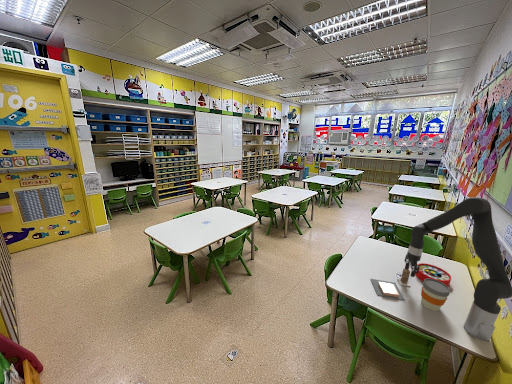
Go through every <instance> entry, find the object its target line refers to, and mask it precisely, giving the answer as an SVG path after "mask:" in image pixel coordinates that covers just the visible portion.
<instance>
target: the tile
mask: <svg viewBox="0 0 512 384" xmlns="http://www.w3.org/2000/svg"><path fill="white" fill-rule="evenodd" d="M378 285H379V287H380V289H381V291H382V293H383V295H388V296H394V297H399V294H398V292H397V290H396V288H395V286H394V285H393V284H389V283H383V282H379V283H378Z"/></svg>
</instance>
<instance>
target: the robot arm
mask: <svg viewBox="0 0 512 384" xmlns="http://www.w3.org/2000/svg"><path fill="white" fill-rule="evenodd" d="M469 215H471V217H472V222H473V229H472V233H471V243H472V246H473V250H474V253H475V254H476V255H477V257H478V258H479V259H480V260H481V262H482V263H483V264H484V266H485V268H486V269H487V272H488V276H489V277H488V278H482V279H480V280H478V281H477V283H476V286H475V289H474V291H473V301H472V304H471V307H470V309H469V311H468V314H467V317H466V319H465V322H464V323H463V329H464V330H465V331H466V332H467V333H468V334H469V335H471V336H472V337H473V338H474V339H477V340H480V341H481V340H482V341H487V342H490V340H491V339H492V336H493V334H494V331H495V329H496V326H495V323H496V322H497V319H498V317H499V315H500V313H501V310H502V308H501V306H500V304H499V303H498V300H503V299H504V300H505V299H510V298H512V284H511V281H510V279H509V276H508V273H507V271H506V268H505V264H504V261H503V256H502V253H501V248H500V242H499V240H498V237H497V233H496V228H495V226H494V221H493V214H492V204H491V203H490V202H489V200H487V199H486V198H484V197H476V196H472V197H468V198H465V199H464V200H461V202H460V203H457V204H456V205H455V206H454V207H452V208H450V209H448V210H447V211H445V212H442V213H440V214H439V215H436V216H435V217H433V218H430V219H429V220H427V221H426V222H422V223H420V224H418V225H417V224H416V225H415V226H413V227H412V229H411V233H410V235H411V236H410V238H411V240H410V244H409V246H408V249H407V252H406V255H405V257H404V261H403V262H404V264H405V265H404V269H409V268H410V269H411V271H410V275H409V277H411V278H415V276H416V275H415V273H417V274H418V272H419V268H420V265H417V264H418V262H420V261H421V259H422V254H423V249H424V246H425V240H424V237H425V235H428V234H430V233H432V232H434V231H437V230H440V229H443V228H445V227H446V226H449V225H451V224H452V223H454V222H455V221H457V220H458V219H460V218H463V217H468V216H469ZM410 269H409V270H410Z"/></svg>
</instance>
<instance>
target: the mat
mask: <svg viewBox="0 0 512 384" xmlns="http://www.w3.org/2000/svg"><path fill="white" fill-rule="evenodd" d="M370 282H371V284H372V286H373V288H374V290H375V293H376V295H377V296H378V297H385V298H389V299H395V300H400V301H405V300H406V299H405V298H404V294H402V292H401V290H400V288H399V287H398V285H397V284H396V282H393V281H387V280H383V279H382V280H381V279H374V278H370ZM379 282H383V283H389V284H393V285H394V286H395V288H396V290H397V292H398V294H399V297H394V296H388V295H383V293H382V291H381V289H380V287H379V285H378V283H379Z"/></svg>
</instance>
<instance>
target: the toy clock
mask: <svg viewBox="0 0 512 384" xmlns="http://www.w3.org/2000/svg"><path fill="white" fill-rule="evenodd" d="M417 265H420V268H419V272H418V274H417V273H415V276H416V277H417V278H418V279H419V280H420V281H422V283H423V282H424V280H425V279H428V278H429V279H434V280H437V281H440V282H442V283H444V284H445V285H446V286H448V287H449V286H450V284H451V280H452V276H451V274H450V273H448V272H447V271H446V270H445V269H443V268H441V267H439V266H437V265H434V264H429V263H425V262H423V263H422V262H420V263H417Z"/></svg>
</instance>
